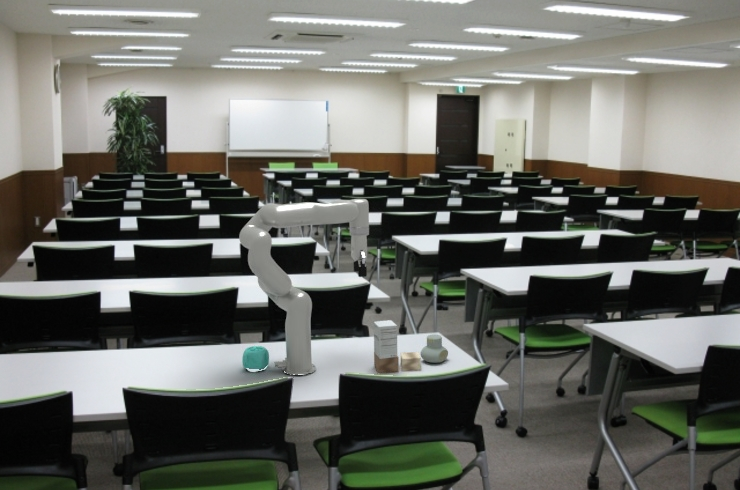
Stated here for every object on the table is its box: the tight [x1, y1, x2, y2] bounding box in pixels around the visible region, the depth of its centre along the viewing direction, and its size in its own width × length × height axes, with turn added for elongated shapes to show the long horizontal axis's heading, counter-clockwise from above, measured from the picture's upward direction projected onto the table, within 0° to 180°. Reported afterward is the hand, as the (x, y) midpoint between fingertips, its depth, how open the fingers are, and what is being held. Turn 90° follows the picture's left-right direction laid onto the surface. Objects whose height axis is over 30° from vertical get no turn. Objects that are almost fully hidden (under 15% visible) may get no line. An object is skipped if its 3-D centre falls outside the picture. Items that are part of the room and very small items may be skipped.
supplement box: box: [373, 319, 398, 359], centre depth 275 cm, size 7×7×13 cm
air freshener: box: [420, 333, 449, 364], centre depth 286 cm, size 11×8×10 cm
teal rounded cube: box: [241, 345, 270, 370], centre depth 280 cm, size 8×8×8 cm
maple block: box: [400, 351, 422, 372], centre depth 279 cm, size 7×7×5 cm
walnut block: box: [373, 352, 400, 374], centre depth 278 cm, size 8×8×6 cm
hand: (360, 273), depth 286 cm, fingers open, 9 cm apart
